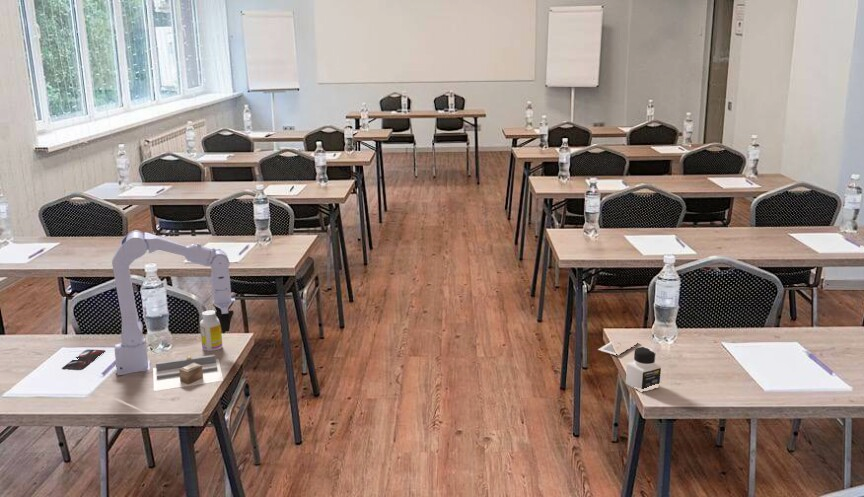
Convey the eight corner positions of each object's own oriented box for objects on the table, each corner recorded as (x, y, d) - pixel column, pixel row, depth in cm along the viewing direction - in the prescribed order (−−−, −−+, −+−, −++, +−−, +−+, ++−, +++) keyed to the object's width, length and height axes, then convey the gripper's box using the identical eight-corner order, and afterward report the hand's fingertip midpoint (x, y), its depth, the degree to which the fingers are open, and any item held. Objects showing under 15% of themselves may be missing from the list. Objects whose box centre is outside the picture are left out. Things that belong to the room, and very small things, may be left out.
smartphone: (60, 368, 237) (86, 349, 252) (60, 370, 238) (86, 351, 252) (82, 369, 237) (106, 349, 251) (82, 371, 237) (106, 351, 251)
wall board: (154, 392, 222) (152, 381, 221) (153, 369, 237) (152, 359, 236) (223, 382, 228) (222, 371, 227) (218, 360, 244) (217, 350, 243)
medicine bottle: (641, 393, 221) (644, 356, 217) (625, 384, 227) (627, 347, 224) (659, 388, 224) (663, 351, 221) (642, 379, 230) (646, 343, 227)
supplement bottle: (225, 344, 256) (222, 309, 252) (218, 352, 250) (215, 316, 246) (206, 343, 257) (203, 308, 253) (199, 351, 250) (195, 315, 247)
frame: (188, 384, 225) (187, 371, 224) (180, 381, 227) (178, 368, 226) (203, 377, 230) (201, 364, 229) (195, 374, 232) (193, 361, 231)
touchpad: (597, 352, 250) (597, 346, 250) (619, 339, 261) (619, 333, 260) (618, 359, 245) (619, 353, 245) (639, 345, 256) (640, 339, 256)
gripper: (236, 293, 235) (239, 333, 239) (231, 279, 249) (234, 317, 252) (213, 295, 233) (216, 336, 237) (209, 282, 246) (213, 320, 250)
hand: (224, 327), depth 244 cm, fingers open, 7 cm apart
